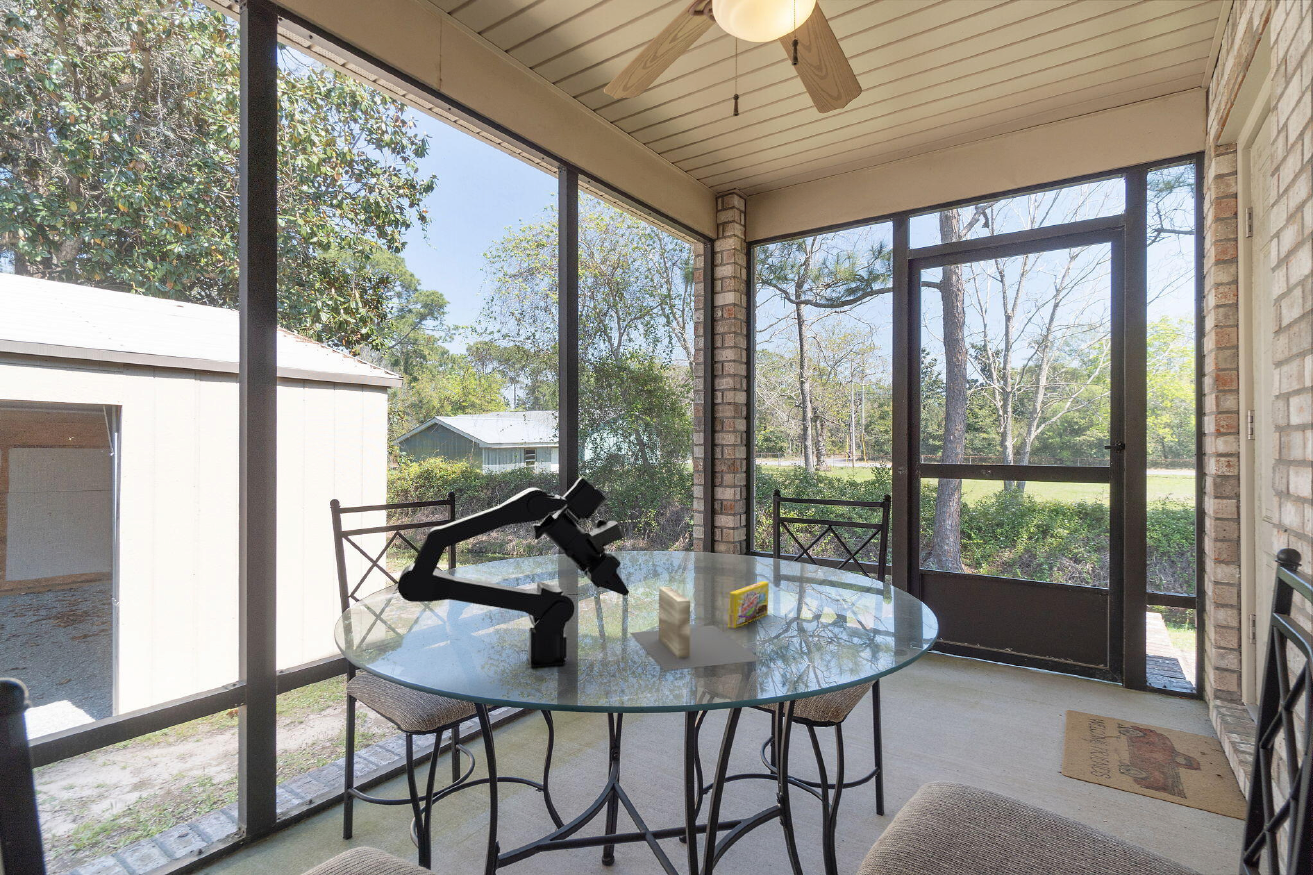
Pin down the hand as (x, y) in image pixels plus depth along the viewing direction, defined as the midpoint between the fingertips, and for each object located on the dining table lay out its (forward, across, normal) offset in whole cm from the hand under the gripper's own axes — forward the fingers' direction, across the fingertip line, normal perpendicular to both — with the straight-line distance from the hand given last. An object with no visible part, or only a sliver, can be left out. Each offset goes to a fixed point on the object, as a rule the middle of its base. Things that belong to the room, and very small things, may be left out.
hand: (624, 590), depth 128 cm
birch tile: (+16, 0, +1) cm, 16 cm away
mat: (+19, 0, -2) cm, 19 cm away
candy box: (+34, +14, -15) cm, 39 cm away
